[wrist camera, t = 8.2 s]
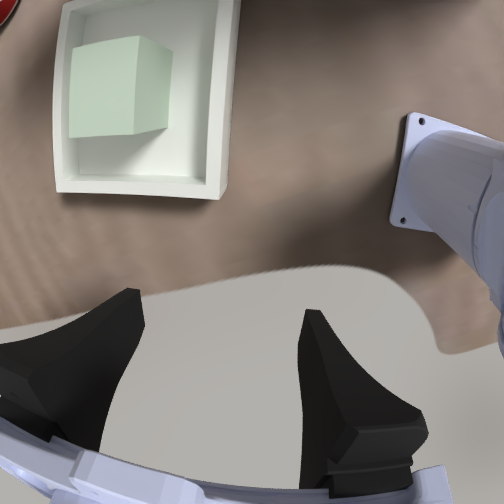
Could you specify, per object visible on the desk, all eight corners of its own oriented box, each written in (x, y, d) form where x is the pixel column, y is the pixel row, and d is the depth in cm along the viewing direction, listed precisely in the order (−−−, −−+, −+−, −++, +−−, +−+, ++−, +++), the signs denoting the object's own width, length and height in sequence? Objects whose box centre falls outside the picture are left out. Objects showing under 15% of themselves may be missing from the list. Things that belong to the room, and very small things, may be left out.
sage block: (173, 51, 15) (139, 35, 11) (168, 127, 17) (133, 134, 13) (116, 57, 15) (73, 48, 11) (112, 128, 17) (68, 138, 13)
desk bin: (242, -9, 14) (236, -27, 11) (227, 187, 20) (219, 199, 17) (86, 12, 14) (63, 4, 12) (79, 181, 20) (56, 192, 18)
